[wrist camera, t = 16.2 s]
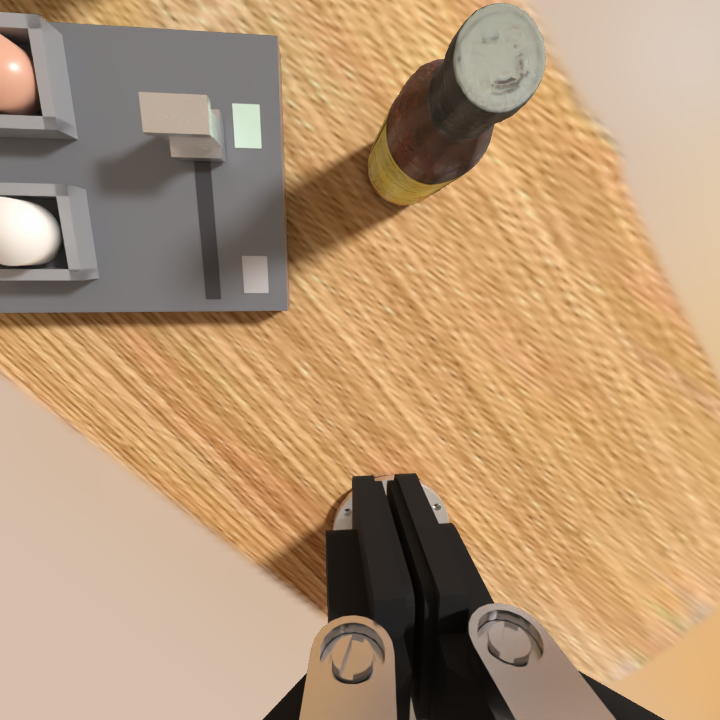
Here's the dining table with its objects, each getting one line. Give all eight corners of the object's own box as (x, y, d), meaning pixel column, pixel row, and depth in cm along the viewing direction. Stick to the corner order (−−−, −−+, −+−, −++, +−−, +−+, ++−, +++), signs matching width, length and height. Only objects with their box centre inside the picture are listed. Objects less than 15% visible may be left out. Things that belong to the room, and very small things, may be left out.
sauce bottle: (423, 216, 37) (538, 178, 18) (356, 196, 36) (403, 133, 17) (445, 139, 36) (596, 9, 16) (376, 115, 35) (452, -52, 15)
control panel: (289, 306, 38) (285, 315, 33) (6, 307, 35) (-48, 317, 30) (280, 54, 33) (273, 17, 27) (-51, 36, 30) (-129, -10, 25)
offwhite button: (67, 264, 30) (47, 266, 28) (2, 264, 30) (-24, 265, 28) (56, 201, 29) (34, 197, 27) (-11, 200, 29) (-39, 195, 26)
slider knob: (228, 162, 31) (210, 143, 26) (173, 160, 31) (144, 141, 25) (225, 114, 30) (206, 85, 25) (169, 112, 30) (137, 82, 25)
